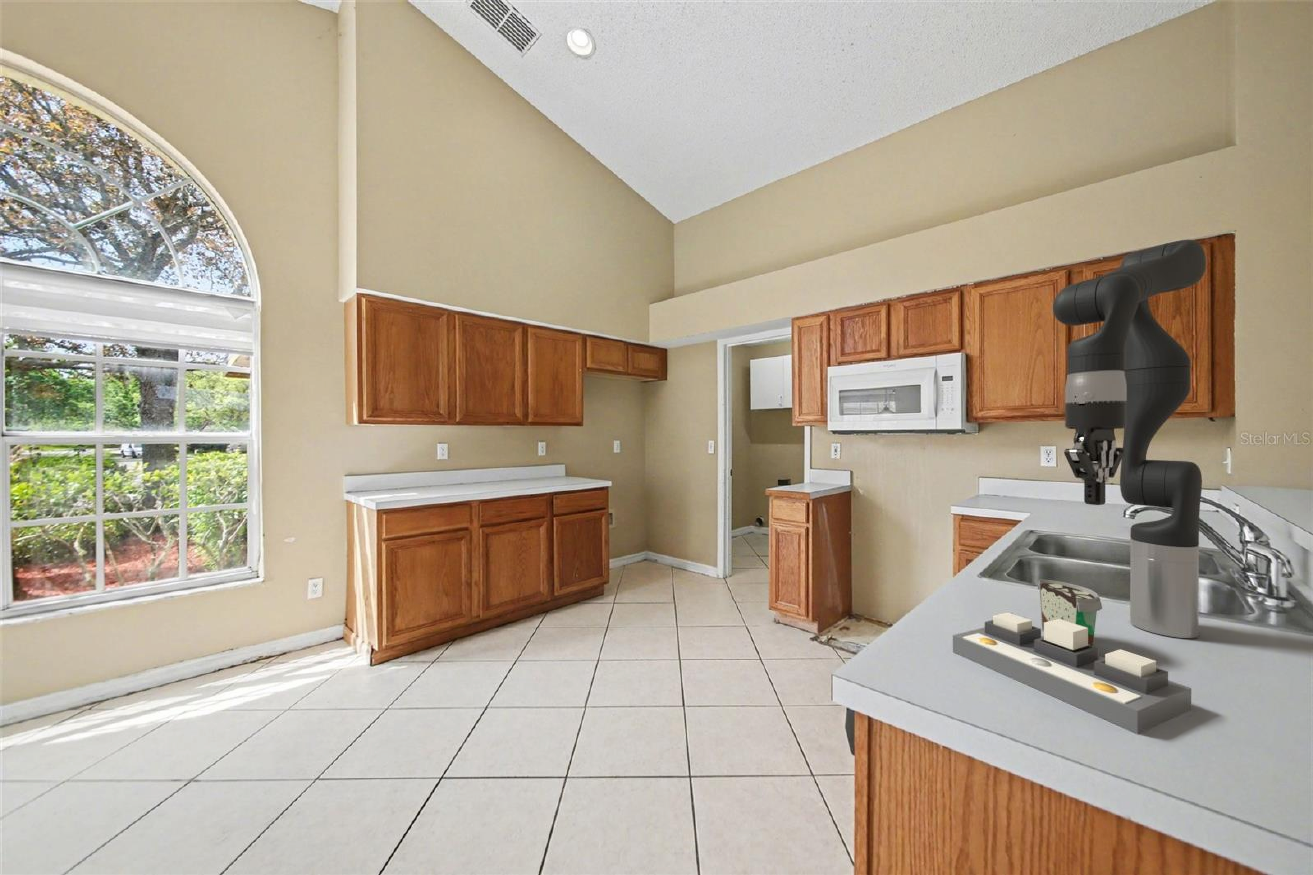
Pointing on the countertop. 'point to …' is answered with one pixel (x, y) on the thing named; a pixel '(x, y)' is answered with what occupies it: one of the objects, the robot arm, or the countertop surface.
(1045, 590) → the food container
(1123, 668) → the button right
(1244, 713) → the countertop surface
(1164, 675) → the button board
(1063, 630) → the button middle
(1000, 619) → the button left
